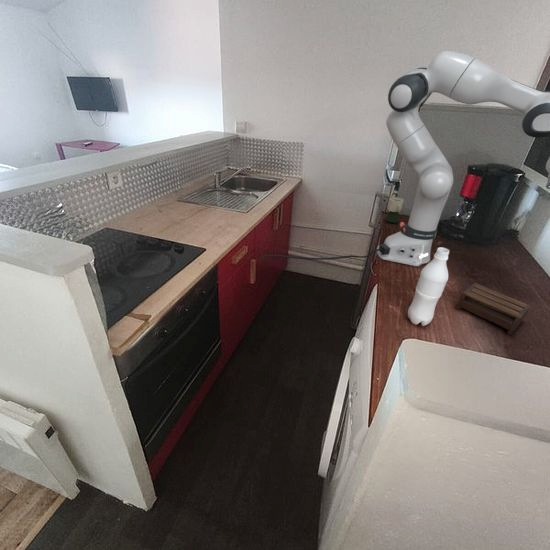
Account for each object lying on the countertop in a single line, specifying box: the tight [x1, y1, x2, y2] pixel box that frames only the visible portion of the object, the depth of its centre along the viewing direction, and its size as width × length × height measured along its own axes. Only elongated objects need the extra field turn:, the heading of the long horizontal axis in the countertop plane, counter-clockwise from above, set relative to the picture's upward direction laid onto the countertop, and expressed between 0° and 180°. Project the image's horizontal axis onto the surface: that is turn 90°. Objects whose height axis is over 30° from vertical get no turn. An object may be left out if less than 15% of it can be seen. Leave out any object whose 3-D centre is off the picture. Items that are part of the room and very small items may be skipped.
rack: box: [455, 282, 532, 336], centre depth 94 cm, size 10×16×7 cm, turn 38°
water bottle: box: [407, 246, 450, 327], centre depth 86 cm, size 7×7×25 cm
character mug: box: [385, 196, 405, 224], centre depth 161 cm, size 11×7×13 cm, turn 2°
